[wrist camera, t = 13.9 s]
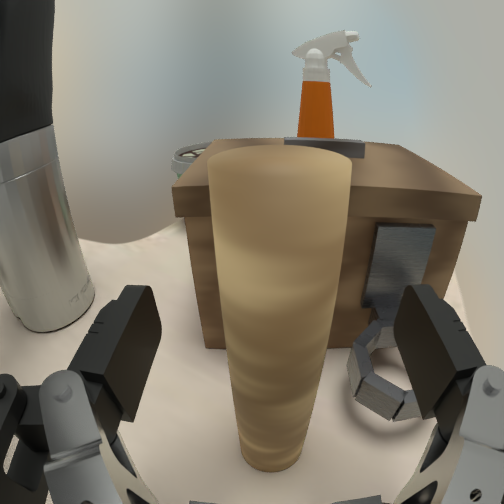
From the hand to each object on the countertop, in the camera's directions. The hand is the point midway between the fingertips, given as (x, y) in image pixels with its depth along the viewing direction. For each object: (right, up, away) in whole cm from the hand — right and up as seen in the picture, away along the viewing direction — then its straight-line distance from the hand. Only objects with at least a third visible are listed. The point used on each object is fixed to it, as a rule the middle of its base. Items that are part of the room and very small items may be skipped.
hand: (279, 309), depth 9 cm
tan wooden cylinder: (0, -10, +6) cm, 12 cm away
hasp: (+8, -5, +8) cm, 13 cm away
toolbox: (+5, -2, +19) cm, 20 cm away
